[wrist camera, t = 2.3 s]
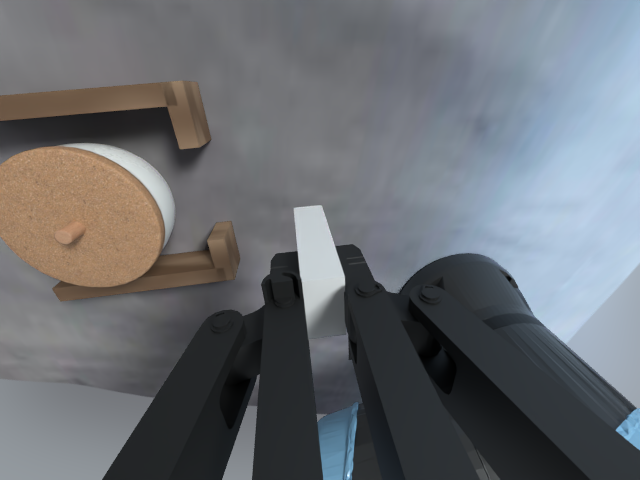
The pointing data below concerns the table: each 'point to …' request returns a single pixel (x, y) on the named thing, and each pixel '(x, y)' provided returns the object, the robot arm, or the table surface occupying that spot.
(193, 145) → the cradle
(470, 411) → the robot arm
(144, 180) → the lidded jar
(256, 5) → the table surface
